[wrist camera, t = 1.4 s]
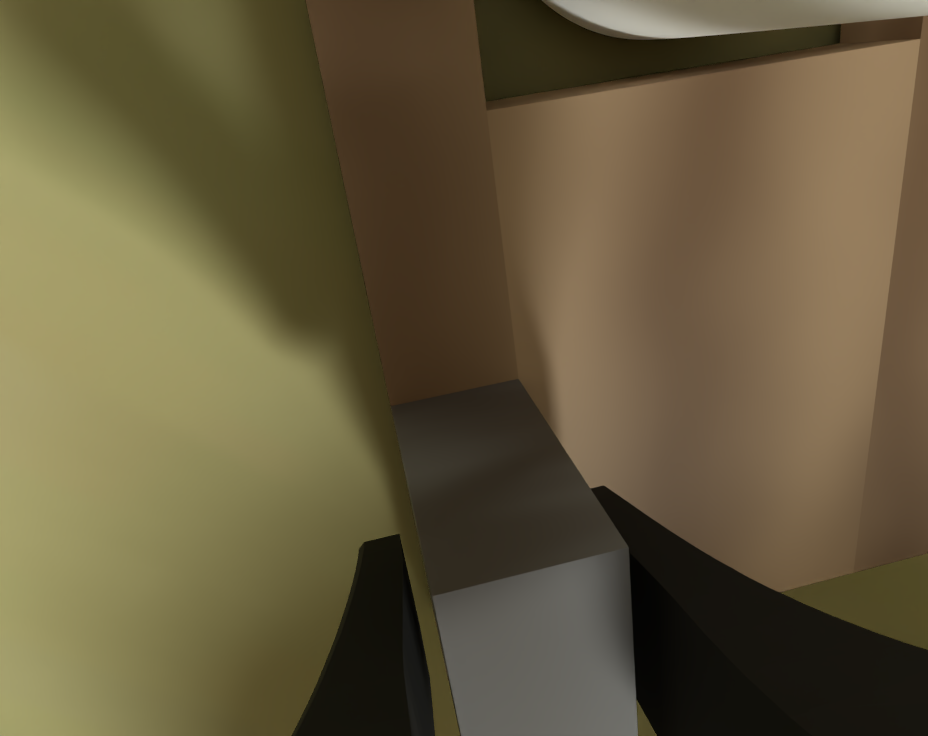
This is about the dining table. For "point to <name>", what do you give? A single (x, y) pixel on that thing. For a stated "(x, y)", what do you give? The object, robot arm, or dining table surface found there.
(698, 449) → the tan channel tray
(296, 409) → the dining table surface
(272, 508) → the dining table surface
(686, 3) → the can
